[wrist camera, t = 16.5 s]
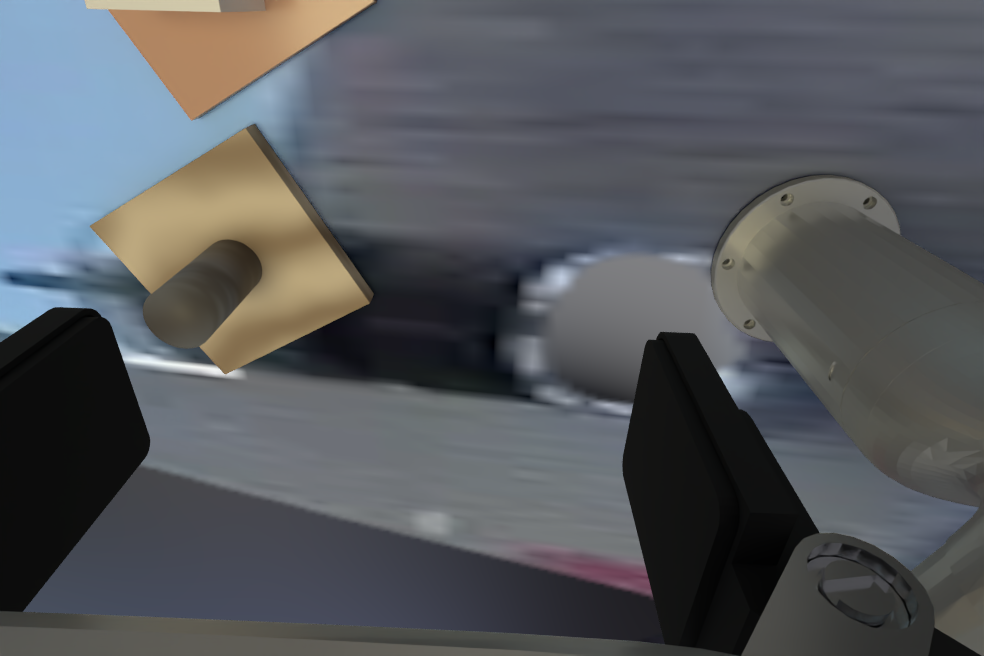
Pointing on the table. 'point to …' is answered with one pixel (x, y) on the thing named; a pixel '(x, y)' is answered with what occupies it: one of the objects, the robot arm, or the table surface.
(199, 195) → the post stand
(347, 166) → the table surface
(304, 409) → the table surface
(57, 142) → the table surface
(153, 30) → the tile
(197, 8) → the cream rectangular prism
